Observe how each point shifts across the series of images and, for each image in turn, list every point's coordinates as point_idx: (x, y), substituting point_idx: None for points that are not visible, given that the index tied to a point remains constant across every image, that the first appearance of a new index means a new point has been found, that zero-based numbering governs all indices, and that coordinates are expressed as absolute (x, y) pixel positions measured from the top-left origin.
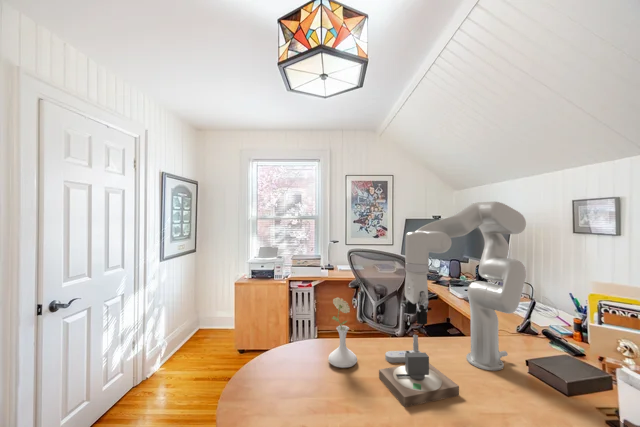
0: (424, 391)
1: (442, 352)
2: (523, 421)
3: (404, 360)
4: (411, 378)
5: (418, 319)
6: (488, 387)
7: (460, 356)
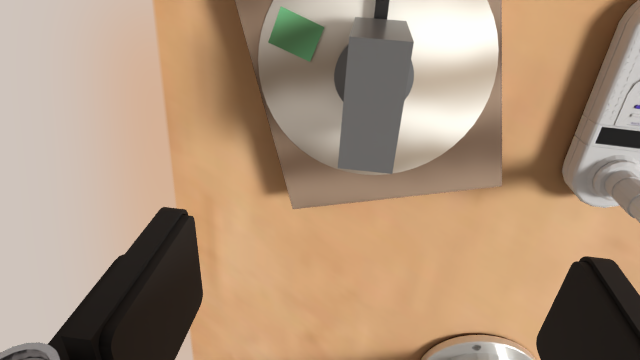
0: (258, 53)
1: None
2: None
3: (596, 92)
4: None
5: (138, 252)
6: (334, 296)
7: None
